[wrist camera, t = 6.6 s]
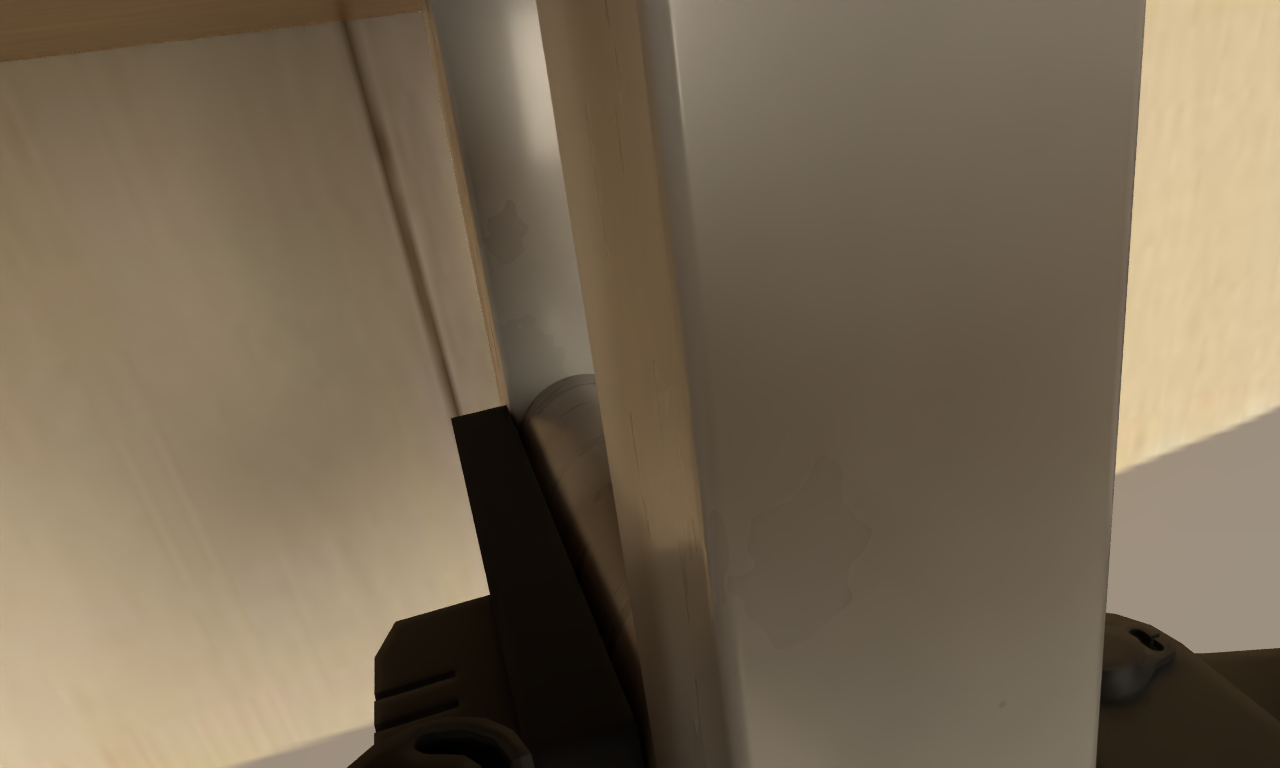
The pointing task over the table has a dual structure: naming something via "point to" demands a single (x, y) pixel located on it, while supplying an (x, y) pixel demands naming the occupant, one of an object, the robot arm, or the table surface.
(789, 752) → the cupboard door
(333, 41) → the table surface
